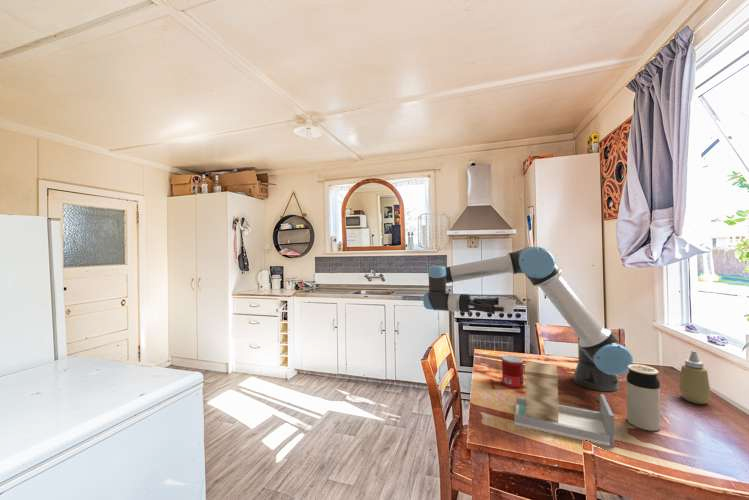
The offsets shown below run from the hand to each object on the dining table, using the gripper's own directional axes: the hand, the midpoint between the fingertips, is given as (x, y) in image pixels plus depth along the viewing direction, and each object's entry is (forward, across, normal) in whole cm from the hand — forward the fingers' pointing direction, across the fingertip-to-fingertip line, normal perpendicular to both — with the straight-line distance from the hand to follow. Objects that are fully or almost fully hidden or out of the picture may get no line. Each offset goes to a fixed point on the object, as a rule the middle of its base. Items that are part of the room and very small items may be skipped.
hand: (514, 306), depth 121 cm
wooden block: (+9, +17, -33) cm, 38 cm away
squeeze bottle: (+58, -20, -34) cm, 71 cm away
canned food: (-2, -7, -34) cm, 35 cm away
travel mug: (+37, +6, -34) cm, 51 cm away
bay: (+14, +17, -34) cm, 40 cm away
